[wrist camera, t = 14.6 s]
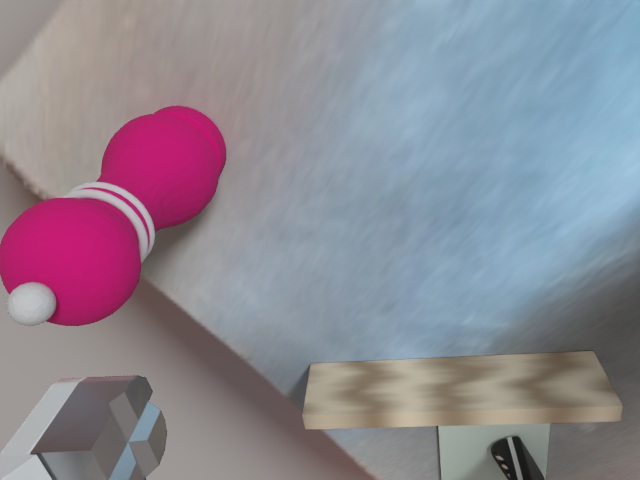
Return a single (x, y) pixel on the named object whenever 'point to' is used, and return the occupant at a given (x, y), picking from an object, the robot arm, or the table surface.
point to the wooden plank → (461, 391)
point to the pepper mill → (110, 220)
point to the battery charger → (515, 460)
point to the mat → (487, 449)
